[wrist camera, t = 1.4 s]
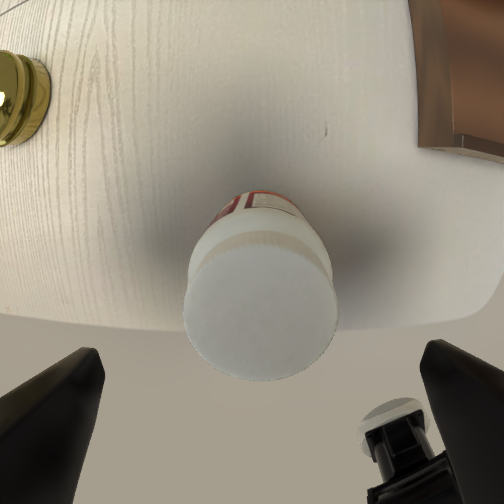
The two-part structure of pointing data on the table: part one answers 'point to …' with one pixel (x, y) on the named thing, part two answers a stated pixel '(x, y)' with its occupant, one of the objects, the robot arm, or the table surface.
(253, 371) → the pill bottle
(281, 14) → the table surface
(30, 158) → the table surface
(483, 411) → the robot arm
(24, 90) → the brass calibration weight
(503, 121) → the step shelf
